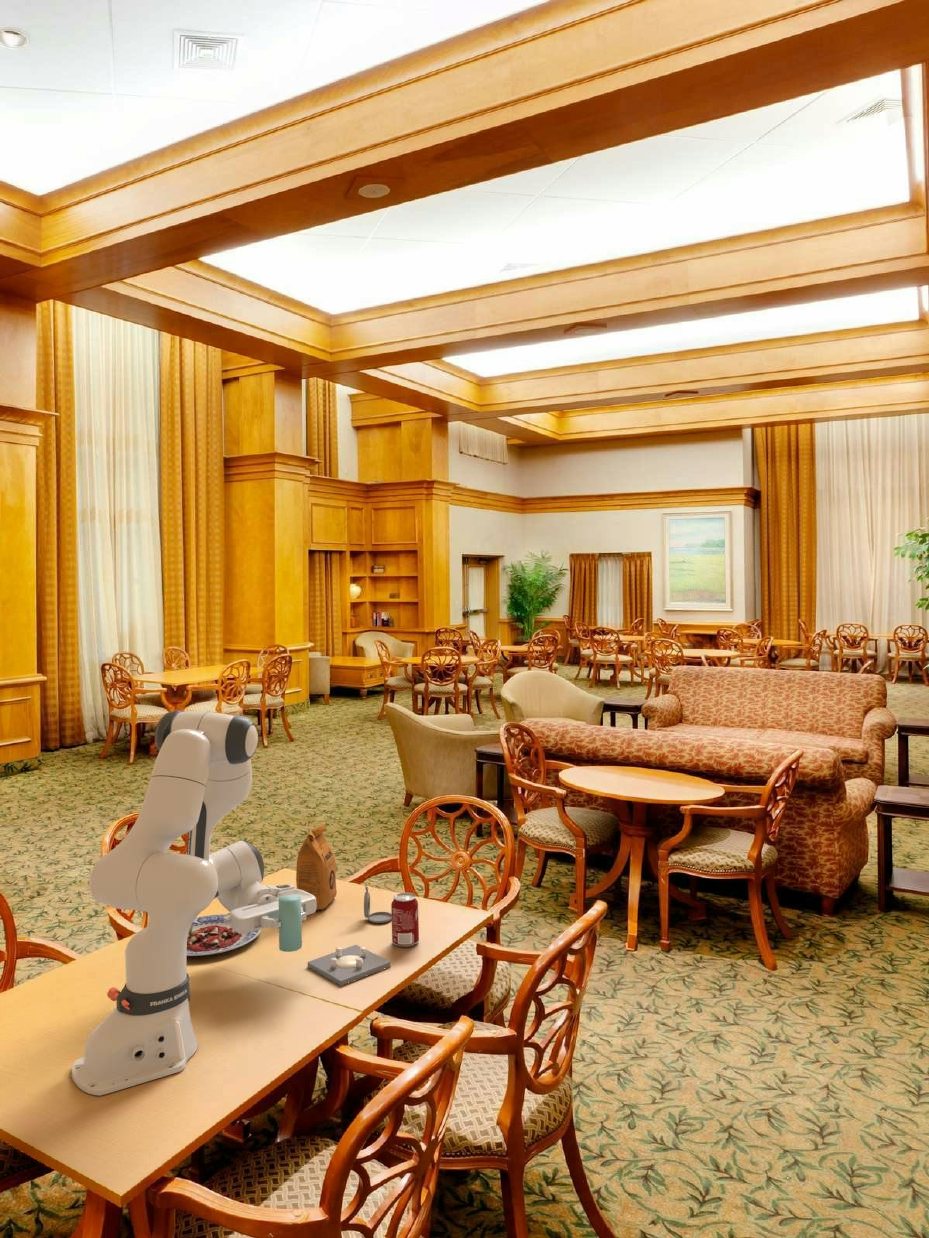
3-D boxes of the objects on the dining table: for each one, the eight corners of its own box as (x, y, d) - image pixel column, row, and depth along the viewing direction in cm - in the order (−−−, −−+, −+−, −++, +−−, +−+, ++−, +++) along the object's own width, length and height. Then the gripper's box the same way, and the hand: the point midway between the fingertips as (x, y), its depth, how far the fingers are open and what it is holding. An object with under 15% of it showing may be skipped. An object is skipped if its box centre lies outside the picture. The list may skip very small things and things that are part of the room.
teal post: (286, 953, 185) (285, 903, 185) (275, 947, 189) (274, 898, 189) (306, 947, 188) (305, 898, 188) (294, 941, 192) (293, 893, 192)
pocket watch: (397, 920, 227) (396, 884, 227) (369, 928, 222) (368, 890, 222) (382, 911, 234) (381, 876, 233) (355, 918, 229) (354, 882, 229)
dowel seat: (341, 986, 189) (340, 972, 189) (307, 966, 199) (307, 953, 199) (390, 966, 199) (390, 953, 198) (356, 949, 209) (355, 936, 209)
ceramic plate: (282, 932, 221) (281, 921, 221) (206, 971, 198) (206, 959, 198) (212, 915, 234) (212, 905, 234) (134, 950, 211) (134, 938, 211)
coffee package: (342, 898, 245) (340, 823, 244) (324, 914, 233) (322, 835, 232) (311, 895, 247) (309, 821, 247) (291, 911, 235) (289, 833, 235)
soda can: (415, 949, 208) (414, 901, 208) (388, 947, 209) (387, 900, 209) (421, 938, 215) (420, 892, 214) (396, 936, 216) (395, 890, 216)
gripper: (219, 903, 191) (249, 919, 181) (297, 882, 205) (328, 896, 195) (219, 930, 191) (249, 948, 181) (297, 907, 205) (329, 923, 195)
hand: (291, 921), depth 188 cm, fingers closed on teal post, 5 cm apart
